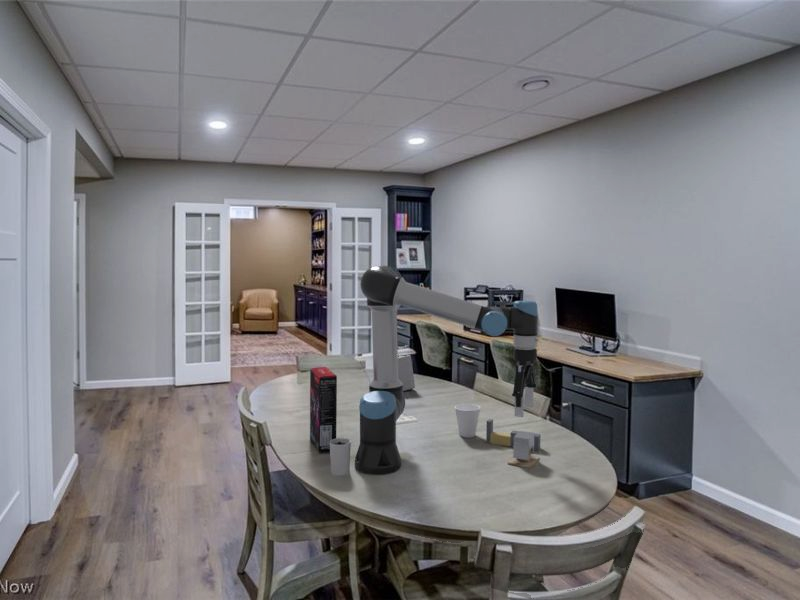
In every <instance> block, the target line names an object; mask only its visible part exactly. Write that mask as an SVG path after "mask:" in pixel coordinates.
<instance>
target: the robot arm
mask: <svg viewBox="0 0 800 600" xmlns="http://www.w3.org/2000/svg"><path fill="white" fill-rule="evenodd" d="M362 274H363V275H362V276H361V279H360V290H361V293H362V294H363V296H364V297H366V306H367V307H368V309H370V310H371V327H372V328H371V331H372V332H371V333H372V335H371V336H372V373H373V375H372V377H373V378H372V380H371V381H370V382H369V384H368V390H369V392H366V393H365V394H363V395H362V396H361V398H360V400H359V406H358V407H359V409H358V410H359V444H358V448H357V451H356V454H355V457H354V469H355V470H356V471H358V472H359V473H361V474H367V475H374V476H375V475H376V476H377V475H378V476H379V475H388V474H393V473H395V472H397V471H399V470H400V469H401V468H402V457H401V454H400V452H399V448H398V446H397V422H398V419H400V417H401V416H402V414H403V412H404V410H405V408H406V397H405V394H404V391H403V383H402V382H401V381H400V380H399V379H398V351H399V350H398V349H399V348H398V312H397V311H398V309H399V308H400V307H401V306H402V307H404V308H409V309H412V310H415V311H419V312H421V313H424V314H427V315H431V316H432V317H437V318H441V319H442V320H446V321H450V322H453V323H456V324H459V325H463V326H465V327H467V328H468V327H469V328H472V329H475V330H477V331H479V332H480V331H481V332H483V333H485V334H486V335H488V336H491V337H499V336H500V335H502V334H503V333H504V332H505V331H506V330H510V331H511V330H513V343H512V344H513V347H514V348H513V356H512V357H513V359H514V360H515V361H518V365H516V366H515V376H514V383H513V390H512V391H513V392H512V393H511V397H514V417H517V418H524V414H525V413H524V410H525V409H524V407H528V408H529V407H530V408H533V407H534V391H535V390H534V388H537V384H536V377H535V369H534V362H535V361H536V360H537V359H538V358H537V357H538V349H537V347H538V342H539V338H538V320H539V319H538V318H539V317H538V316H539V315H538V303H537V302H536V301H533V300H515V301H514V302H513V306H490V305H486V306H483V305H480V304H477V303H474V302H471V301H468V300H465V299H461V298H459V297H455V296H451V295H450V294H449V295H448V294H446V293H445V294H444V293H443V292H439V291H436V290H432V289H430V288H427V287H423V286H420V285H416V284H413V283H410V282H407V281H406V280H405V278H404V277H402V275H401V273H400V272H399V271H398V270H397V269H396V268H394V267H393V266H390V265H378V266H372V267H370V268H368V269H366V271H365V272H364V273H362Z"/></svg>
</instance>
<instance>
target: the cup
mask: <svg viewBox="0 0 800 600" xmlns="http://www.w3.org/2000/svg"><path fill="white" fill-rule="evenodd" d="M454 410H455V416H456V422H457V427H458V428H457V429H458V434H459V436H460V437H462V438H466V439H467V438H469V439H470V438H474V437H475V436H476V434H477V427H478V424H479V423H478V422H479V418H480V417H479V416H480V411H481V410H482V407H481V406H480V405H477V404H473V403H460V404H457V405H455V406H454Z"/></svg>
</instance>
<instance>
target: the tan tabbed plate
mask: <svg viewBox="0 0 800 600" xmlns="http://www.w3.org/2000/svg"><path fill="white" fill-rule="evenodd" d="M539 459H540V456H536V455H532V454H531V449H530V453H529V460H523V459H517V458H513V456H512V457H511V458H510V459H509V461H508V462H507V465H509V466H514V467H516V466H517V467H521V468H526V469H533V468H534V467H535V465H536V463H537V462H538V461H539Z"/></svg>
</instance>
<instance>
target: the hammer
mask: <svg viewBox="0 0 800 600" xmlns="http://www.w3.org/2000/svg"><path fill="white" fill-rule="evenodd" d="M519 431H520V430H512V431H511V432H510V433H504V432H500V431H499V432H498V431H494V419H493V418H492V419H491V418H489V419H487V420H486V438H485V439H486V443H487V444H491V445H492V444H493V445H500V446H506V447H513V448H514V436H515V435H516V434H517V433H518V432H519ZM540 449H541V433H540V434H539V433H534V451H537V452H538V451H540Z"/></svg>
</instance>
